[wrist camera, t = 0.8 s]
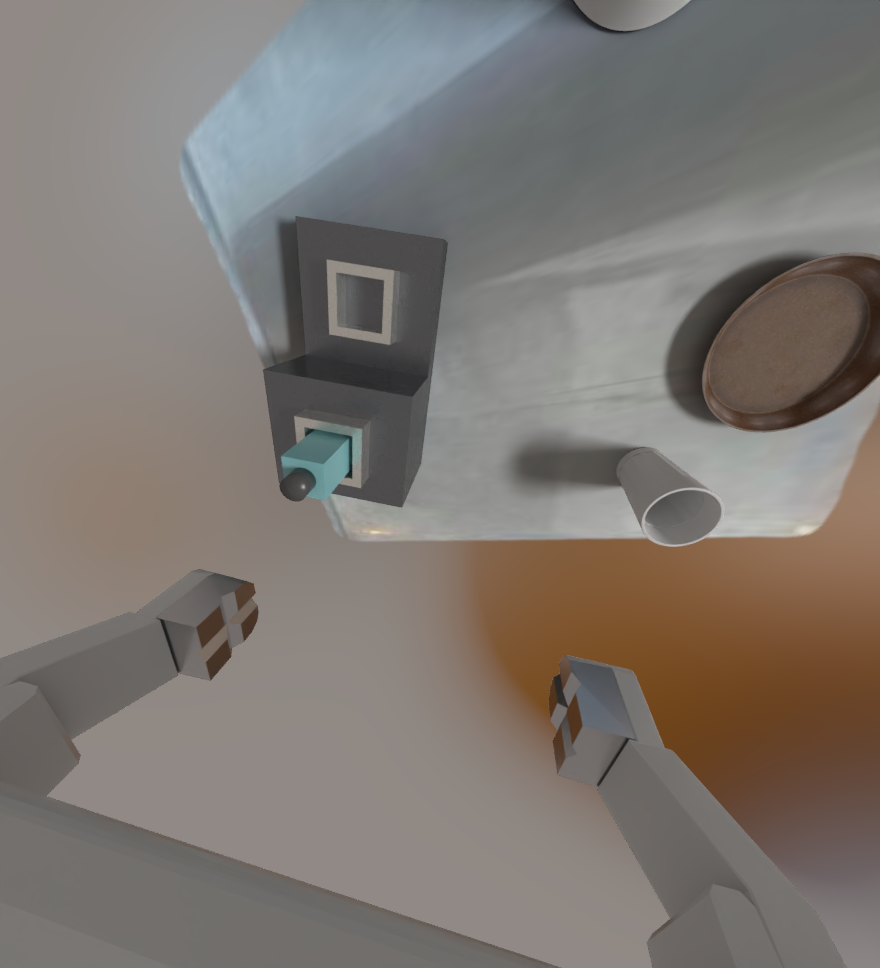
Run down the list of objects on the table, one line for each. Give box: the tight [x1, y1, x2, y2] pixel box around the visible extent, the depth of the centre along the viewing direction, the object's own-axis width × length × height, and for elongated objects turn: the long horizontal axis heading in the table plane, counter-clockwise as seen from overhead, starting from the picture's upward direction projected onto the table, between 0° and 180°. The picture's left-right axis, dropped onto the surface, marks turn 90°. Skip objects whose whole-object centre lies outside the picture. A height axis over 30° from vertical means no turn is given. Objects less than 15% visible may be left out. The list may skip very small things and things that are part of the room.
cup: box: [616, 447, 724, 547], centre depth 41 cm, size 8×8×12 cm
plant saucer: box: [702, 253, 880, 432], centre depth 36 cm, size 18×18×3 cm
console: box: [263, 216, 448, 507], centre depth 38 cm, size 28×16×14 cm, turn 172°
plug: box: [280, 429, 352, 501], centre depth 34 cm, size 5×4×10 cm
